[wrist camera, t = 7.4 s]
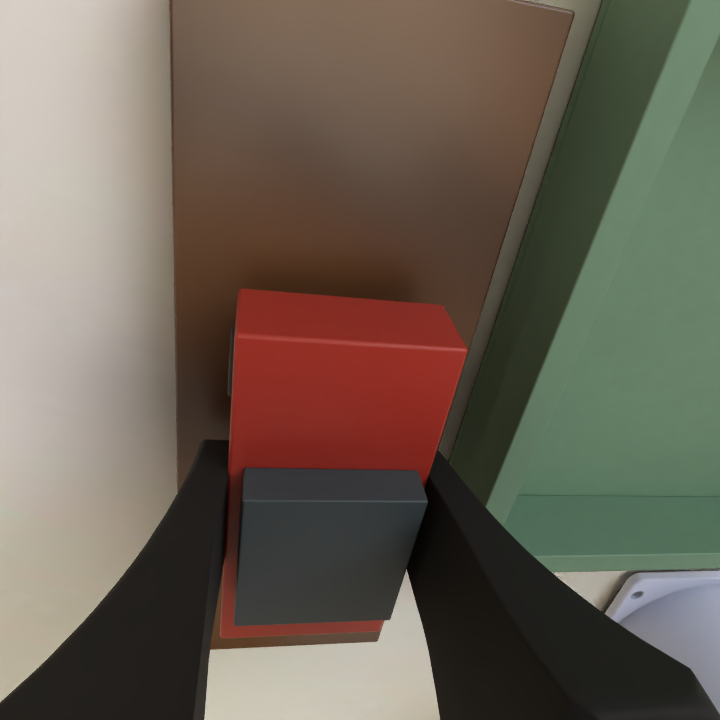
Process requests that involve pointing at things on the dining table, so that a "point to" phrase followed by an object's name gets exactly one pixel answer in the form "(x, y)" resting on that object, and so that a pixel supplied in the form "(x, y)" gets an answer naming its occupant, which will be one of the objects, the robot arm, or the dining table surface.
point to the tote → (615, 315)
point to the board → (342, 169)
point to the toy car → (329, 456)
